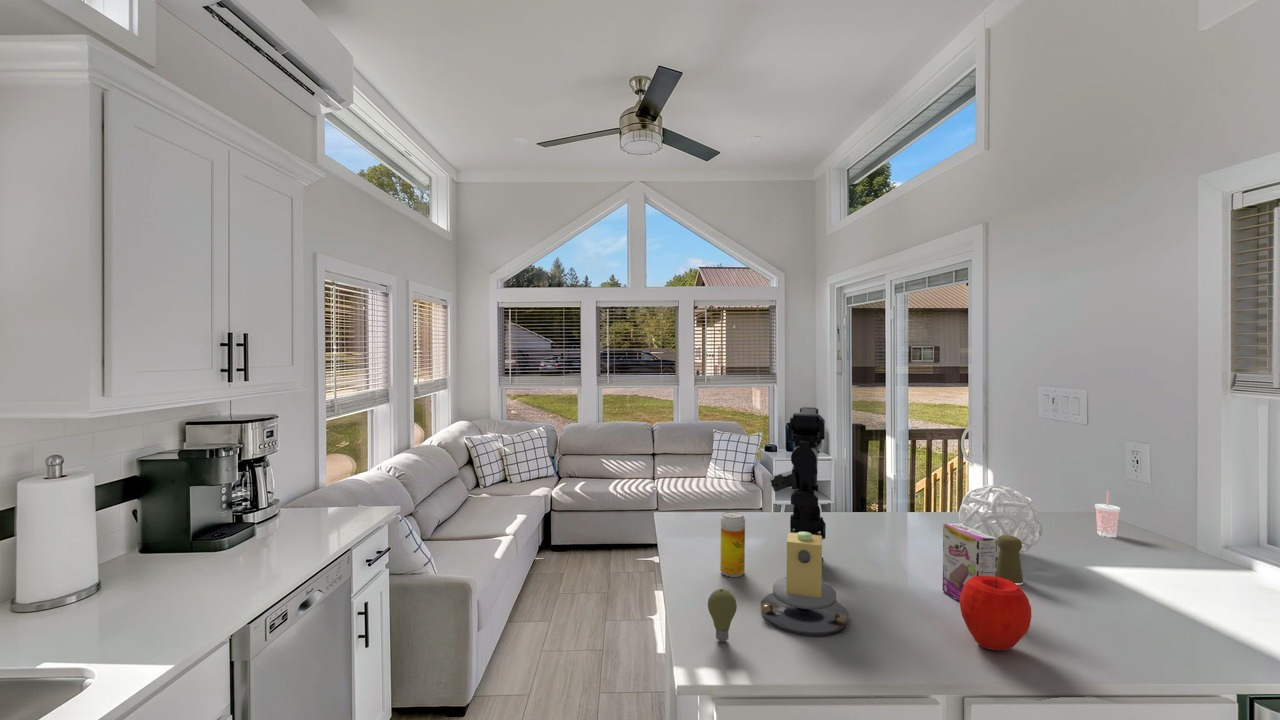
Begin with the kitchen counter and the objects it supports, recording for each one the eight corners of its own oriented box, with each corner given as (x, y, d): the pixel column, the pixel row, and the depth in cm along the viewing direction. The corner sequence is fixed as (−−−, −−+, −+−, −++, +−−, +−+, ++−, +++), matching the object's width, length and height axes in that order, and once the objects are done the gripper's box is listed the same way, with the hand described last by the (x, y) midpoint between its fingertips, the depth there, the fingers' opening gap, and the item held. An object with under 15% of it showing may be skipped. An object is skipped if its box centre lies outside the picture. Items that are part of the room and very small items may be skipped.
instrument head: (775, 578, 128) (775, 521, 127) (835, 586, 124) (836, 527, 123) (770, 604, 115) (771, 541, 115) (837, 613, 111) (837, 548, 111)
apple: (1003, 670, 99) (1004, 596, 99) (944, 639, 110) (945, 571, 110) (1044, 656, 104) (1046, 585, 104) (984, 627, 115) (985, 563, 115)
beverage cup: (1089, 531, 177) (1090, 487, 177) (1110, 532, 176) (1111, 488, 176) (1102, 537, 171) (1103, 492, 171) (1124, 538, 170) (1125, 493, 170)
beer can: (744, 579, 138) (745, 518, 138) (719, 577, 139) (720, 517, 139) (744, 569, 144) (744, 511, 144) (720, 567, 145) (721, 510, 145)
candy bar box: (940, 592, 132) (941, 522, 131) (959, 590, 132) (960, 522, 132) (976, 614, 121) (978, 538, 120) (997, 612, 121) (998, 537, 121)
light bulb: (704, 634, 111) (705, 584, 111) (732, 633, 112) (732, 583, 112) (710, 649, 106) (711, 597, 105) (739, 648, 106) (740, 596, 106)
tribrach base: (765, 590, 132) (765, 576, 131) (846, 601, 126) (846, 586, 126) (756, 628, 114) (756, 611, 114) (850, 643, 108) (851, 625, 108)
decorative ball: (1053, 573, 143) (1055, 499, 143) (965, 563, 149) (967, 492, 149) (1027, 547, 162) (1028, 482, 162) (950, 539, 168) (951, 476, 168)
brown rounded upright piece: (1020, 578, 140) (1021, 534, 140) (1025, 587, 135) (1026, 542, 134) (992, 573, 143) (993, 531, 142) (996, 582, 137) (997, 538, 137)
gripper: (775, 454, 151) (774, 512, 151) (769, 468, 133) (768, 533, 133) (818, 457, 147) (817, 516, 148) (818, 471, 130) (817, 538, 130)
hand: (804, 525), depth 140 cm, fingers closed
